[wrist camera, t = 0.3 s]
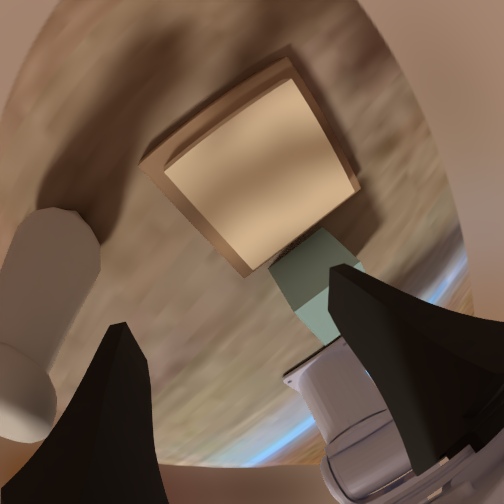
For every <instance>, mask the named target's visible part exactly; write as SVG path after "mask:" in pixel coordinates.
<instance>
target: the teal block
mask: <svg viewBox="0 0 504 504" xmlns="http://www.w3.org/2000/svg"><path fill="white" fill-rule="evenodd" d="M343 263H345V264H348V265H350V266H352V267H354V268H356V269H358V270H360V271H362V272H364V273H365V271H364V268H363V266H362V264H361V262H360V261H359V260H358V259H357V258H356V257H355V256H354V255H353V254H352V253H351V252H350V251H349V250H348V249H346V248H345V247H344V246H343V245H342V244H341V243H340V242H339V241H338V240H337V239H336V238H335V237H334V236H332V235H331V234H330V233H329V232H328V231H327V230H326V229H325V228H324V227H322V228H320V229H319V230H318V231H316V232H315V233H314V234H313V235H311V236H310V237H309V238H307V239H306V240H305V241H303V242H302V243H301V244H300V245H298V246H297V247H296V248H294V249H293V250H292V251H290V252H289V253H288V254H286V255H285V256H284V257H283V258H281V259H280V260H279V261H277V262H276V263H275V264H273V265H272V266H271V267H269V268H268V269H269V271H270V273H271V274H272V276H273V278H274V279H275V281H276V283H277V284H278V286H279V288H280V289H281V291H282V293H283V295H284V296H285V298H286V300H287V301H288V303H289V305H290V306H291V308H292V310H293V311H294V313H295V314H296V315H297V316H298V317H299V318H300V319H301V320H302V321H303V322H304V324H305V325H306V326H307V327H308V328H309V329H310V330H311V331H312V332H313V333H314V334H315V335H316V336H317V338H318V339H319V340H320V341H321V342H322V343H323V344H324V345H327V344H328V343H330V342H331V341H332V340H334V339H335V338H336V337H338V336H339V335H340V333H339V331H338V329H337V327H336V325H335V324H334V322H333V320H332V318H331V316H330V314H329V312H328V292H329V268H330V267H333V266H336V265H339V264H343Z"/></svg>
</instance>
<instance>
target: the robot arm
mask: <svg viewBox="0 0 504 504" xmlns="http://www.w3.org/2000/svg"><path fill="white" fill-rule="evenodd" d="M328 312H329V314H330V316H331V318H332V320H333V322H334V324H335V325H336V327H337V329H338V331H339V333H340V334H341V335H342V337H341V338H339V339H338V340H337V341H335V342H334V343H332V344H331V345H330V346H328V347H327V348H325V349H324V350H323V351H321V352H320V353H318V354H317V355H315V356H314V357H313V358H311V359H310V360H308V361H307V362H305V363H304V364H302V365H301V366H299V367H298V368H296V369H295V370H293V371H292V372H290V373H288V374H287V375H285V376H284V377H283V378H282V380H283V382H284V383H285V384H287V385H288V386H290V387H292V388H293V389H295V390H296V391H298V392H299V393H301V394H302V395H303V397H304V399H305V401H306V404H307V406H308V408H309V410H310V412H311V414H312V416H313V418H314V420H315V422H316V424H317V426H318V428H319V430H320V432H321V434H322V436H323V438H324V440H325V442H326V444H327V446H326V447H324V450H325V452H326V454H327V455H325V456H323V457H322V461H321V464H320V469H321V474H322V477H323V479H324V482H325V484H326V486H327V487H328V489H329V491H330V492H331V494H332V495H333V496H334V498H335V499H336V500H337V501H339V503H340V504H504V322H499V321H493V320H486V319H482V318H477V317H473V316H469V315H465V314H461V313H457V312H454V311H451V310H448V309H445V308H442V307H439V306H436V305H433V304H431V303H428V302H425V301H423V300H421V299H418V298H416V297H414V296H411V295H409V294H407V293H405V292H402V291H400V290H398V289H396V288H394V287H392V286H390V285H388V284H386V283H384V282H382V281H380V280H378V279H376V278H374V277H372V276H370V275H368V274H366V273H364V272H362V271H360V270H358V269H356V268H354V267H352V266H350V265H348V264H345V263H343V264H339V265H336V266H333V267H330V268H329V292H328ZM365 370H366V371H367V372H368V373H369V375H370V376H371V378H372V379H373V381H374V383H375V384H376V386H377V387H376V386H375V384H374V383H373V381H372V380H371V378H370V377H369V375H368V374H367V372H366V371H365ZM445 457H447V458H448V459H449V461H448V462H446V463H445V464H444V465H442V466H441V467H440V464H439V462H440V461H441V460H443V459H444V458H445ZM411 469H413V470H412V471H411V472H409V473H408V474H406V475H405V476H403V477H402V478H400V479H398V480H397V481H395V482H393V483H392V484H390V485H388V486H386V487H385V488H383V489H381V490H379V491H378V492H376V493H373V494H371V495H369V494H370V493H372V492H374V491H376V490H378V489H380V488H381V487H383V486H385V485H387V484H389V483H390V482H392V481H394V480H395V479H397V478H399V477H400V476H402V475H403V474H405V473H407V472H408V471H410V470H411ZM442 486H443V487H442ZM440 487H442V492H441V493H440V494H438V495H436V496H434V497H433V498H431V499H429V500H428V498H427V497H428V496H429V495H431V494H432V493H434V492H435V491H436V490H438V489H439V488H440ZM1 504H169V502H168V499H167V496H166V493H165V489H164V486H163V482H162V479H161V475H160V471H159V466H158V462H157V457H156V453H155V446H154V437H153V422H152V402H151V384H150V377H149V370H148V364H147V359H146V358H145V356H144V354H143V352H142V351H141V349H140V347H139V345H138V344H137V342H136V340H135V338H134V336H133V335H132V333H131V331H130V329H129V327H128V325H127V323H126V322H122V323H118V324H113V325H110V326H109V328H108V330H107V331H106V333H105V335H104V337H103V339H102V341H101V343H100V345H99V347H98V349H97V351H96V353H95V355H94V357H93V359H92V361H91V363H90V365H89V367H88V369H87V371H86V373H85V375H84V377H83V379H82V381H81V383H80V385H79V386H78V388H77V390H76V392H75V394H74V396H73V398H72V399H71V401H70V403H69V405H68V406H67V408H66V410H65V411H64V413H63V415H62V416H61V418H60V419H59V421H58V422H57V424H56V425H55V427H54V428H53V429H52V431H51V432H50V434H49V435H48V436H47V438H46V439H45V440H44V442H43V443H42V445H41V446H40V447H39V449H38V450H37V451H36V452H35V453H34V455H33V456H32V457H31V458H30V459H29V461H28V462H27V463H26V464H25V465H24V467H22V468H21V470H19V472H18V473H16V474H15V476H13V477H12V478H11V479H10V480H9V481H8V482H7V483H6V484H5V485H4V486H3V487H2V488H1Z"/></svg>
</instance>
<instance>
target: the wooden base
mask: <svg viewBox="0 0 504 504" xmlns="http://www.w3.org/2000/svg"><path fill="white" fill-rule="evenodd" d="M138 166H139V168H140V169H141V170H142V171H143V172H144V173H145V174H146V175H147V176H148V177H149V178H150V180H151V181H152V182H153V183H154V184H155V185H156V186H157V187H158V188H159V189H160V190H161V191H162V193H163V194H164V195H165V196H166V197H167V198H168V199H169V200H170V201H171V202H172V203H173V204H174V205H175V206H176V208H177V209H178V210H179V211H180V212H181V213H182V214H183V215H184V216H185V217H186V218H187V219H188V220H189V221H190V222H191V224H192V225H193V226H194V227H195V228H196V229H197V230H198V231H199V232H200V233H201V234H202V235H203V236H204V237H205V238H206V239H207V240H208V241H209V242H210V244H211V245H212V246H213V247H214V248H215V249H216V250H217V251H218V252H219V253H220V254H221V255H222V256H223V257H224V258H225V259H226V260H227V261H228V262H229V263H230V264H231V265H232V266H233V267H234V269H235V270H236V271H237V272H238V273H239V274H240V275H241V276H242V277H243V278H246V277H247V276H248V275H250V274H251V273H252V272H254V271H255V270H256V269H258V268H259V267H260V266H262V265H263V264H264V263H266V262H267V261H268V260H269V259H271V258H272V257H273V256H275V255H276V254H277V253H279V252H280V251H281V250H283V249H284V248H285V247H287V246H288V245H289V244H290V243H292V242H293V241H294V240H296V239H297V238H298V237H300V236H301V235H302V234H304V233H305V232H306V231H307V230H309V229H310V228H311V227H313V226H314V225H315V224H316V223H318V222H319V221H320V220H322V219H323V218H324V217H326V216H327V215H328V214H329V213H331V212H332V211H333V210H335V209H336V208H337V207H338V206H340V205H341V204H342V203H344V202H345V201H346V200H347V199H349V198H350V197H351V196H352V195H354V194H355V193H356V192H358V191H359V190H360V189H361V187H360V185H359V183H358V181H357V179H356V177H355V174H354V172H353V170H352V168H351V166H350V164H349V162H348V160H347V158H346V156H345V154H344V152H343V150H342V148H341V146H340V144H339V143H338V141H337V139H336V137H335V135H334V133H333V131H332V129H331V128H330V126H329V124H328V122H327V120H326V119H325V117H324V115H323V113H322V111H321V110H320V108H319V106H318V105H317V103H316V101H315V99H314V98H313V96H312V94H311V93H310V91H309V89H308V88H307V86H306V85H305V83H304V81H303V80H302V78H301V77H300V75H299V73H298V72H297V70H296V69H295V67H294V66H293V64H292V63H291V61H290V60H289V58H288V57H283V58H279V59H278V60H276V61H274V62H273V63H271V64H269V65H268V66H266V67H264V68H263V69H261V70H260V71H258V72H256V73H255V74H253V75H252V76H250V77H249V78H247V79H245V80H244V81H242V82H241V83H239V84H238V85H236V86H235V87H233V88H232V89H230V90H229V91H228V92H226V93H225V94H223V95H222V96H220V97H219V98H218V99H216V100H215V101H213V102H212V103H211V104H209V105H208V106H207V107H205V108H204V109H202V110H201V111H200V112H198V113H197V114H196V115H195V116H193V117H192V118H191V119H189V120H188V121H187V122H185V123H184V124H183V125H182V126H180V127H179V128H178V129H177V130H175V131H174V132H173V133H172V134H171V135H169V136H168V137H167V138H166V139H164V140H163V141H162V142H161V143H160V144H159V145H157V146H156V147H155V148H154V149H153V150H152V151H150V152H149V153H148V154H147V155H146V156H145V157H144V158H142V159H141V160H140V161H139V164H138Z"/></svg>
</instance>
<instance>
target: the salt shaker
mask: <svg viewBox="0 0 504 504" xmlns="http://www.w3.org/2000/svg"><path fill="white" fill-rule="evenodd" d="M99 272H100V244H99V242H98V240H97V238H96V237H95V235H94V233H93V231H92V229H91V228H90V226H89V225H88V224H87V223H86V222H85V221H84V220H83V219H82V217H81V216H80V215H79V213H78V212H77V211H72V210H63V209H60V208H56V207H51V208H46V209H41V210H36V211H34V212H32V213H31V214H30V215H29V216H28V217H27V218H26V219H25V220H24V221H23V222H22V223H21V224H20V225H19V226H18V228H17V230H16V232H15V235H14V237H13V240H12V242H11V245H10V247H9V250H8V252H7V255H6V258H5V260H4V263H3V266H2V269H1V272H0V436H2V437H5V438H7V439H10V440H13V441H17V442H25V443H33V442H37V441H41V440H42V439H44V438H46V437H47V436H48V435H49V434H50V431H51V428H52V425H53V421H54V418H55V415H56V406H57V396H56V392H55V389H54V386H53V384H52V382H51V379H50V377H49V373H50V370H51V368H52V366H53V364H54V361H55V359H56V357H57V355H58V353H59V351H60V348H61V346H62V344H63V342H64V340H65V338H66V336H67V334H68V332H69V330H70V328H71V326H72V324H73V322H74V320H75V318H76V317H77V315H78V313H79V311H80V309H81V307H82V305H83V303H84V302H85V300H86V298H87V296H88V294H89V293H90V291H91V289H92V287H93V285H94V283H95V281H96V279H97V277H98V274H99Z"/></svg>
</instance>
